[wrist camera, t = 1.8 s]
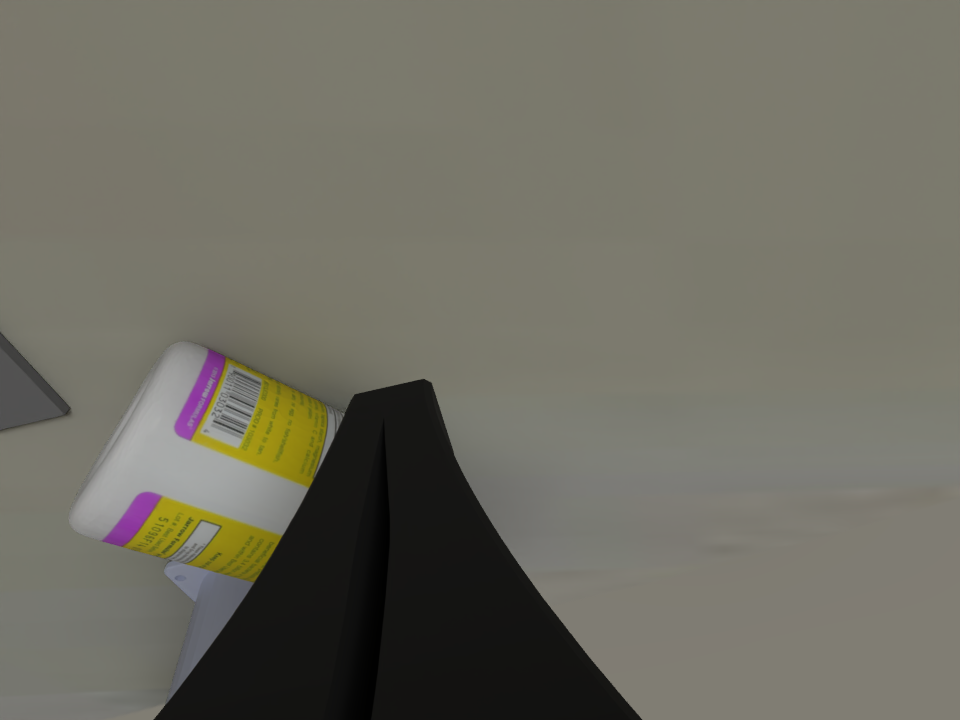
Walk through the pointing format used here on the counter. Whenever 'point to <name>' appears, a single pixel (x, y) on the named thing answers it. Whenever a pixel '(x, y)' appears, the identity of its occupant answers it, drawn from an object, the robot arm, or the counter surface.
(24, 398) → the mat
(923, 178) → the counter surface
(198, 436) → the supplement bottle
